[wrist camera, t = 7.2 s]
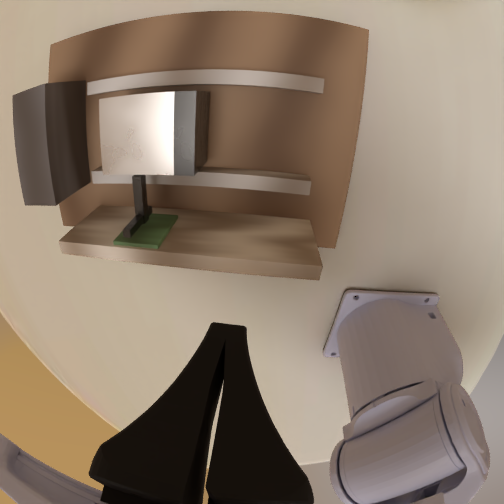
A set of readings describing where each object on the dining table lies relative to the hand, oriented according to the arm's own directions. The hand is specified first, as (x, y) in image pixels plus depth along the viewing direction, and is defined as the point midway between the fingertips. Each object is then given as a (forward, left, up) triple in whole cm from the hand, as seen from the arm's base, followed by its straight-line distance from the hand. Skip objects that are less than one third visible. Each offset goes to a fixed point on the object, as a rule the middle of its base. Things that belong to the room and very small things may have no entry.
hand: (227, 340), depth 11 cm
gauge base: (+4, -7, -9) cm, 12 cm away
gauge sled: (+5, -6, -8) cm, 11 cm away
